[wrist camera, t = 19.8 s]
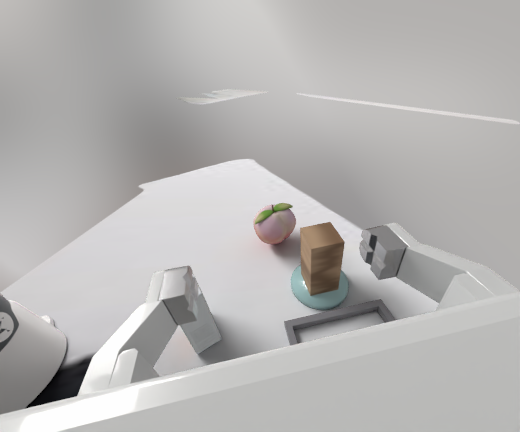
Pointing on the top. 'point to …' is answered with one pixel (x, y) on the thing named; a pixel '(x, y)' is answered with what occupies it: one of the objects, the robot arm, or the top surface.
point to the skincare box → (202, 327)
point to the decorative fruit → (274, 223)
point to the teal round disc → (319, 300)
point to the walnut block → (321, 257)
